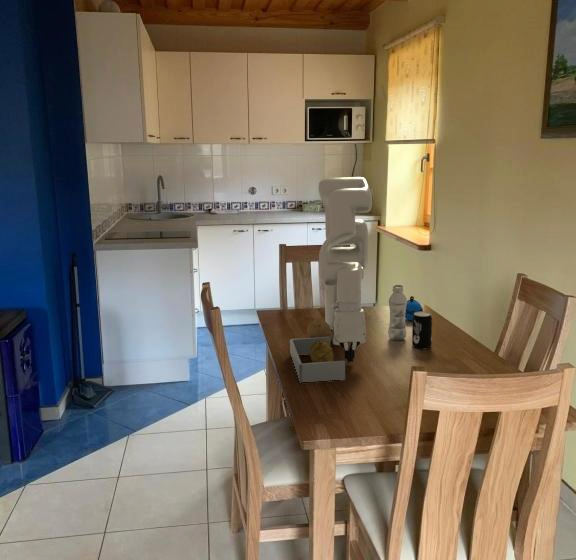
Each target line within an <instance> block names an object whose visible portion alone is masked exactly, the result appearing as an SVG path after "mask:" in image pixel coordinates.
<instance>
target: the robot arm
mask: <svg viewBox="0 0 576 560" xmlns="http://www.w3.org/2000/svg"><path fill="white" fill-rule="evenodd" d="M317 187H318V188H317V189H318V193H319V196H320V199H321V201H322V203H323V207H324V210H325V214H324V215H325V216H324V217H325V219H324V220H325V224H324V225H325V227H324V228H325V240H324V242H323V243H322V245H321V247H320V249H319V253H318V265H319V267H318V269H319V279H320V282H321V283H322V284H323V285H324V314H325V315H324V316H325V317H324V319H325V320H324V321H325V322H326V323H327V324H328V325H329V327H330V329H331V330H332V333H333V339H332V344H333V345H335V346H340V347H341V348H342V349H343V351H344V353H343V354H344V360H346V362H347V363H353V362H354V359H355V356H356V355H355V351H356V348H357V347H358V346H360V345H361V344H365V343H366V342H367V324H366V316H365V310H364V309H363V308H362V281H363V279H364V275H365V273H364V272H365V270H366V269H367V267H368V263H369V261H368V259H369V255H368V254H369V229H368V224H367V223H366V221H364V220H363V219H359V218H358V219H357V218H356V214H365V213H366V214H367V213H369V212H371V210H372V207H373V197H372V193H371V189H370V188H371V187H370V186H369V183H368V180H367V179H366V178H365V177H364V176H363V177H362V176H347V177H346V176H339V177H338V176H337V177H325V178H323V179H321V180H320V181H319V183H318V186H317ZM348 245H349V246H348ZM350 245H353V246H350ZM337 246H339V247H337ZM349 343H350V346H349Z"/></svg>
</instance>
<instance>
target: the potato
mask: <svg viewBox="0 0 576 560" xmlns="http://www.w3.org/2000/svg"><path fill="white" fill-rule="evenodd" d="M309 356H310V359H311V363H317V362H330V361H335V355H334V350H333V348H332V347H331V343H330V344H329V343H328V342H327V341H324V340H318V341H316V342H314V343H313V344H312V346H311V348H310V355H309Z"/></svg>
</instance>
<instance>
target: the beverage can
mask: <svg viewBox="0 0 576 560" xmlns="http://www.w3.org/2000/svg"><path fill="white" fill-rule="evenodd" d="M411 326H412V328H411V329H412V332H411V334H412V335H411V336H412V337H411V344H412V346H413V347H414V348H415V349H419V350H427V349H429V348H431V346H432V340H433V337H432V336H433V334H432V333H433V317H432V313H430V312H429V311H424V310H423V311H419V312H415V313H414V316H413V321H412V325H411Z"/></svg>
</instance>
